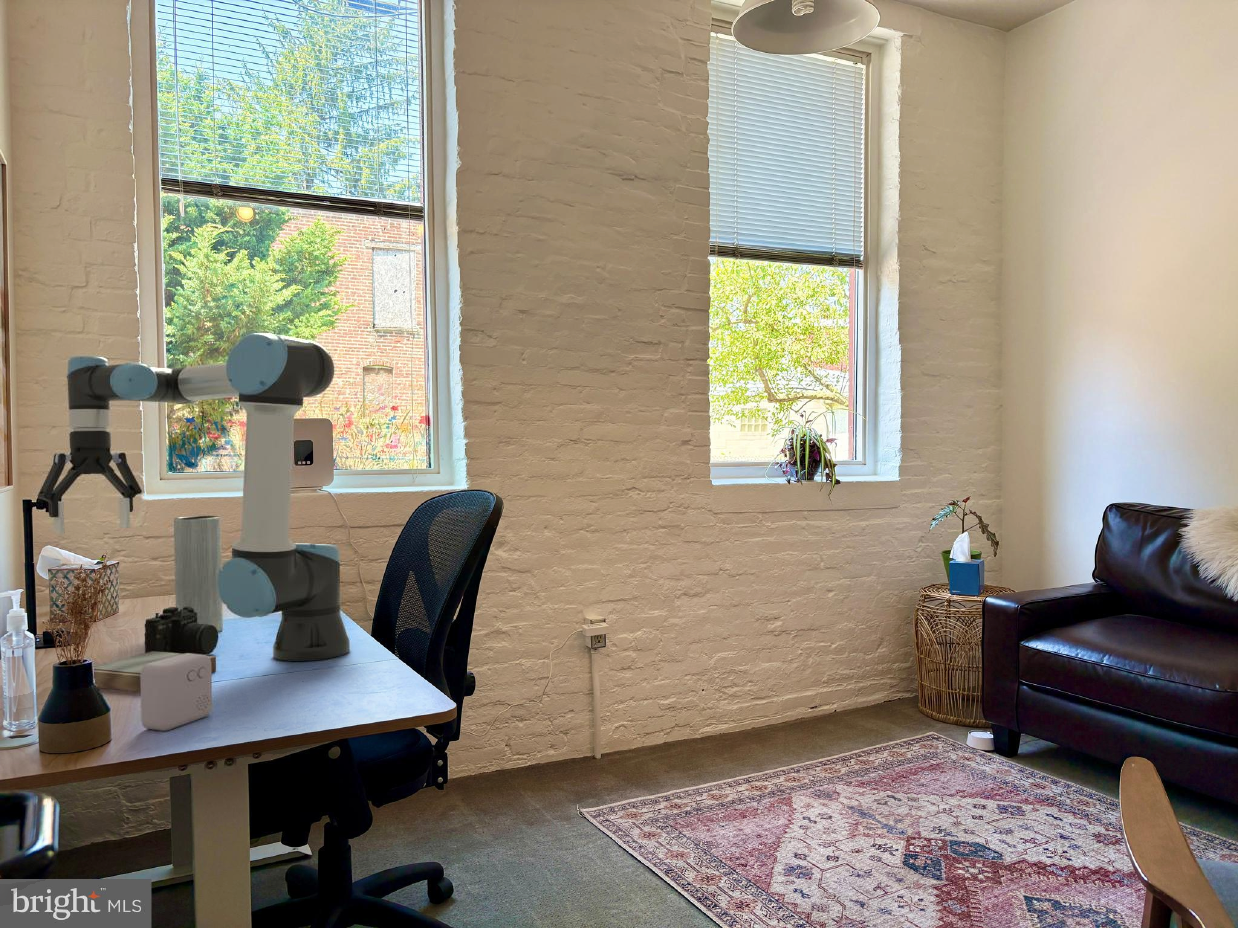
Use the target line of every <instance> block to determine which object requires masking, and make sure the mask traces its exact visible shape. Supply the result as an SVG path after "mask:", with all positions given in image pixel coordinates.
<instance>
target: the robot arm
mask: <svg viewBox="0 0 1238 928" xmlns="http://www.w3.org/2000/svg"><path fill="white" fill-rule="evenodd" d="M333 360H334V359H333V358H332V356H331V354H330V353H329V351H328V350H327V349H326V348H325V347H324V346H322V345H321V344H319V343H318V342H315V341H312V340H309V339H302V338H296V337H292V336H286V335H282V334H281V335H280V334H275V333H263V332H261V333H259V332H257V333H255V332H254V333H251V334H250V333H249V334H247V335H245V336H243V337H241V338H240V339H239V340H238V342H237V343H235V344H234V345H233V346H232V348H231V350H230V351H229V353H228V356H227V359H226V362H220V363H209V364H203V365H202V364H201V365H192V366H187V367H178V368H177V367H176V368H172V367H171V368H166V367H157V366H148V365H147V364H144V363H141V362H138V363H136V362H133V363H132V362H125V363H121V364H109V361H108V359H107V358H105V357H101V356H87V355H84V356H73V357H70V358H69V359H68V362H67V374H66V379H67V395H68V396H67V398H68V399H67V400H68V402H67V403H68V427H69V429H71V430H72V431H70V432H69V449H70V452H69V454H66V453H62V452H61V453H59V452H58V453H54V455H53V460H52V461H53V462H52V465H51V468H50V470H49V471H48V474H47V476H46V478H45V480H44V482H43V484H42V486H41V488H40V490H39V492H38V494H37V498H38V499H40V500H45V501H46V502H47V503H48V517H49V518H53V521H52V522H53V534H65V509H64V507H65V506H64V502H65V501H60V499H61V498H62V497H63V496H64V495H65V494H66V492H67V491H68V490H69V489H70V488H71V486H72V485H73V484H74V483H75V482H76V480H77V479H78V478H79V477H81V476H82V475H102V476H104V477H105V479H107V481H108V482H109V483H110V484H111V486H113V487H114V488H115V490H117V491H118V493H119V494H120V495H121V496H122V497H118V505H119V507H118V509H119V510H118V511H119V516H118V517H119V528H120V529H121V528H122V529H130V528H131V513H133V511H134V498H135V497H136V496H137V495H140V494H142V492H143V491H142V488H141V486H140V484H139V483H138V481H137V479H136V477H135V475H134V473H133V471H132V469H131V468H130V466H129V464H128V461H127V460H128V459H127V453H125V452H115V453H112V452H111V446H112V443H111V442H112V439H111V437H112V436H111V432H110V431H109V430H108V429H110V428H111V413H110V412H111V411H110V409H111V408H110V402H117V401H118V402H119V401H120V402H121V401H127V402H128V401H129V402H149V403H150V402H151V403H168V404H169V403H171V404H177V405H187V404H195V403H197V402H198V401H204V400H205V401H206V400H214V399H215V400H216V399H227V398H237V397H238V405H239V406H240V407H241V408H242V409H243V410H244V411H245V413H246V416H245V417H246V419H245V420H246V421H245V422H246V423H245V442H244V461H243V462H244V465H243V467H244V469H243V483H242V484H243V488H242V505H241V506H242V508H241V533H240V537H239V538H238V539H237V540H236V541H235V542H234V543H232V545H231V558H230V559H228V560H226V561H225V562H224V563H222V567H221V568H220V570H219V572H218V576H217V589H218V593H219V596H220V598H221V600H222V604H223V605H226V609H228V610H229V611H230V612H231V613H233V614H234V615H236V616H239V617H241V618H246V619H250V618H251V619H253V618H257V617H258V618H262V617H267V616H268V615H269V616H270V615H271V614H275V613H278V612H281V620H280V622H279V627H278V628H277V629H278V630H277V632H276V635H275V636H276V637H275V640H274V642H273V646H272V650H273V651H272V654H273V655H272V657H273V658H274V659H277V660H280V661H286V662H308V661H319V660H327V659H332V658H336V657H340V656H344V655H345V654H348V653H349V652H350V649H351V648H350V644H351V643H350V638H349V636H348V633H347V630H346V627H345V624H344V620H343V618H342V614H341V569H340V568H341V563H342V562H341V561H340V551H339V549H338V547H337V546H336V545H335V544H328V543H327V544H325V543H301V542H300V543H298V542H297V543H296V542H295V543H294V542H293V541H292V540H291V539H290V536H289V534H290V512H291V492H292V491H291V490H292V475H293V474H292V469H293V468H292V467H293V451H294V450H293V449H294V448H293V447H294V428H295V415H296V414H297V413H298V412H299V411H300V410H301V409H302V408H303V407H304V398H311V397H316V396H319V395H321V394H322V393H324V392H325V391H326V390H327V389H328V388H329V387H330V385H331V384H332V382H333V379H334V376H335V363H334V361H333ZM69 462H70V464H71V465H72V466H71V467H70V468H69V469H68V471H66V472H67V473H66V474H65V476H63V478H62V479H61V481H60V482H59V479H60V477H61V475H62V472H63V471H64V469H65V466H66V465H67V464H68V463H69ZM111 462H113V463H114V464H115V466H116V468H117V470H118V472H119V473H120V475H121V478H122V479H121V478H120V476H119V475H118V474H117V473H116V472H115V469H114V468H113V466H111ZM58 482H59V483H58ZM57 483H58V484H57Z"/></svg>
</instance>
